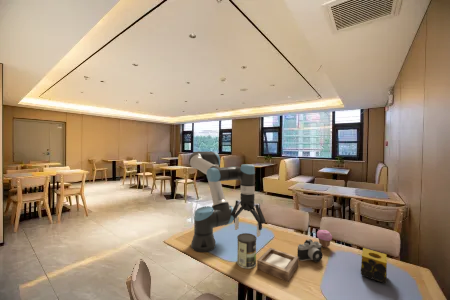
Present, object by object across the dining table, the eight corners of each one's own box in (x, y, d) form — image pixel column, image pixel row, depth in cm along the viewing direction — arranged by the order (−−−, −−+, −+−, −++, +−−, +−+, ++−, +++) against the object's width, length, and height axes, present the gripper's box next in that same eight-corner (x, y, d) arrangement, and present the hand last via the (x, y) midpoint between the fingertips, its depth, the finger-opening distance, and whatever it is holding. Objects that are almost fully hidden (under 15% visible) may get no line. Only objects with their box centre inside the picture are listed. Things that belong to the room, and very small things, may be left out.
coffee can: (256, 258, 109) (256, 233, 109) (255, 270, 99) (256, 242, 99) (238, 256, 111) (238, 232, 111) (235, 267, 101) (236, 240, 101)
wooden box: (257, 268, 100) (257, 260, 100) (270, 255, 113) (270, 247, 113) (288, 281, 91) (288, 272, 90) (298, 265, 103) (298, 257, 103)
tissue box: (361, 265, 104) (362, 247, 104) (386, 273, 98) (386, 253, 98) (360, 275, 96) (360, 255, 96) (386, 284, 90) (387, 263, 90)
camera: (304, 266, 103) (304, 247, 103) (294, 256, 112) (294, 239, 112) (328, 261, 107) (328, 243, 107) (316, 253, 116) (317, 236, 116)
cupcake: (327, 250, 119) (327, 234, 118) (314, 245, 126) (314, 229, 125) (334, 246, 124) (334, 231, 124) (321, 241, 131) (321, 226, 131)
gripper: (224, 191, 109) (224, 228, 109) (265, 198, 94) (265, 241, 94) (232, 189, 115) (232, 224, 115) (272, 195, 100) (271, 236, 100)
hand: (247, 232), depth 105 cm, fingers open, 13 cm apart
